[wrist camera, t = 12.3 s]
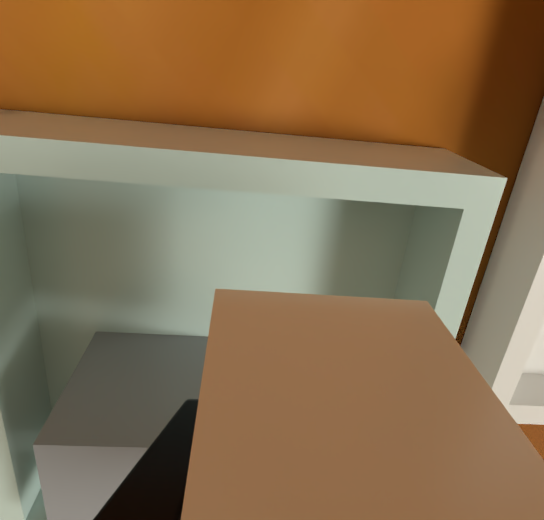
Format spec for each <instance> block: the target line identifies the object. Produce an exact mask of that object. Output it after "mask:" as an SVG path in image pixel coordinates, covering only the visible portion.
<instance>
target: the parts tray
mask: <svg viewBox="0 0 544 520" xmlns="http://www.w3.org/2000/svg"><path fill="white" fill-rule="evenodd" d="M461 348H462V349H463V351H464V352H465V353H466V355H467V356H468V357H469V359H470V360H471V362H472V363H473V364H474V366H475V367H476V368H477V370H478V371H479V372H480V374H481V375H482V377H483V378H484V379H485V381H486V382H487V383H488V385H489V386H490V388H491V389H492V390H493V392H494V393H495V394H496V396H497V397H498V398H499V400H500V401H501V403H502V404H503V405H504V407H505V408H506V409H507V411H508V412H509V414H510V415H511V416H512V418H513V419H514V420H515V422H516V423H517V424H543V425H544V97H543V100H542V103H541V106H540V109H539V112H538V115H537V118H536V121H535V124H534V127H533V130H532V133H531V136H530V139H529V142H528V145H527V148H526V151H525V154H524V157H523V160H522V163H521V166H520V169H519V172H518V175H517V178H516V181H515V184H514V187H513V190H512V193H511V196H510V199H509V202H508V205H507V208H506V211H505V214H504V217H503V220H502V223H501V226H500V229H499V232H498V235H497V238H496V241H495V244H494V247H493V250H492V253H491V256H490V259H489V262H488V265H487V268H486V271H485V274H484V277H483V280H482V283H481V286H480V289H479V292H478V295H477V298H476V301H475V304H474V307H473V310H472V313H471V316H470V319H469V322H468V325H467V328H466V331H465V334H464V337H463V340H462V343H461Z"/></svg>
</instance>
